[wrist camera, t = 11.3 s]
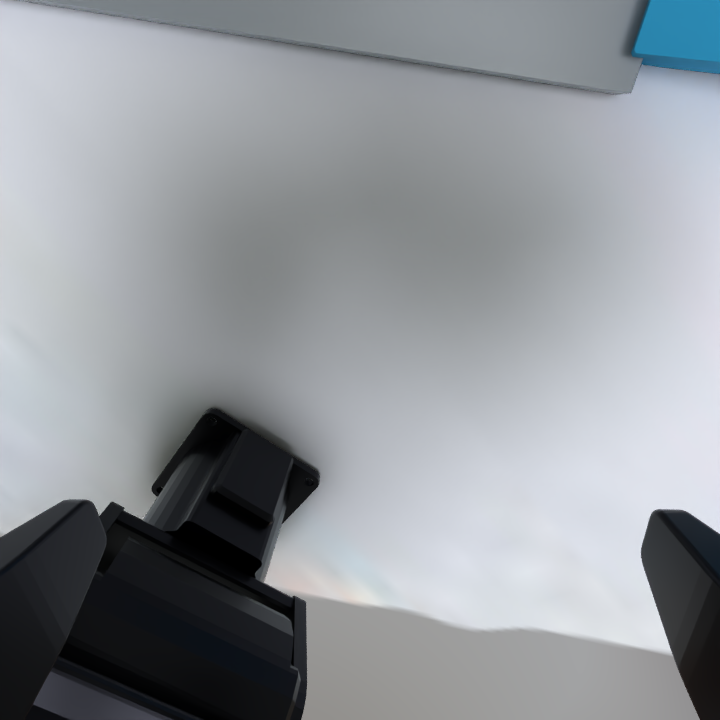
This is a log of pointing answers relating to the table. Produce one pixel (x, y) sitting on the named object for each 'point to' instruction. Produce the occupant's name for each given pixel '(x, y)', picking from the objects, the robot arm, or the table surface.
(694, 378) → the table surface
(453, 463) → the table surface
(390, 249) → the table surface
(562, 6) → the thin grey base plate
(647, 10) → the blue long block
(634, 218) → the table surface
